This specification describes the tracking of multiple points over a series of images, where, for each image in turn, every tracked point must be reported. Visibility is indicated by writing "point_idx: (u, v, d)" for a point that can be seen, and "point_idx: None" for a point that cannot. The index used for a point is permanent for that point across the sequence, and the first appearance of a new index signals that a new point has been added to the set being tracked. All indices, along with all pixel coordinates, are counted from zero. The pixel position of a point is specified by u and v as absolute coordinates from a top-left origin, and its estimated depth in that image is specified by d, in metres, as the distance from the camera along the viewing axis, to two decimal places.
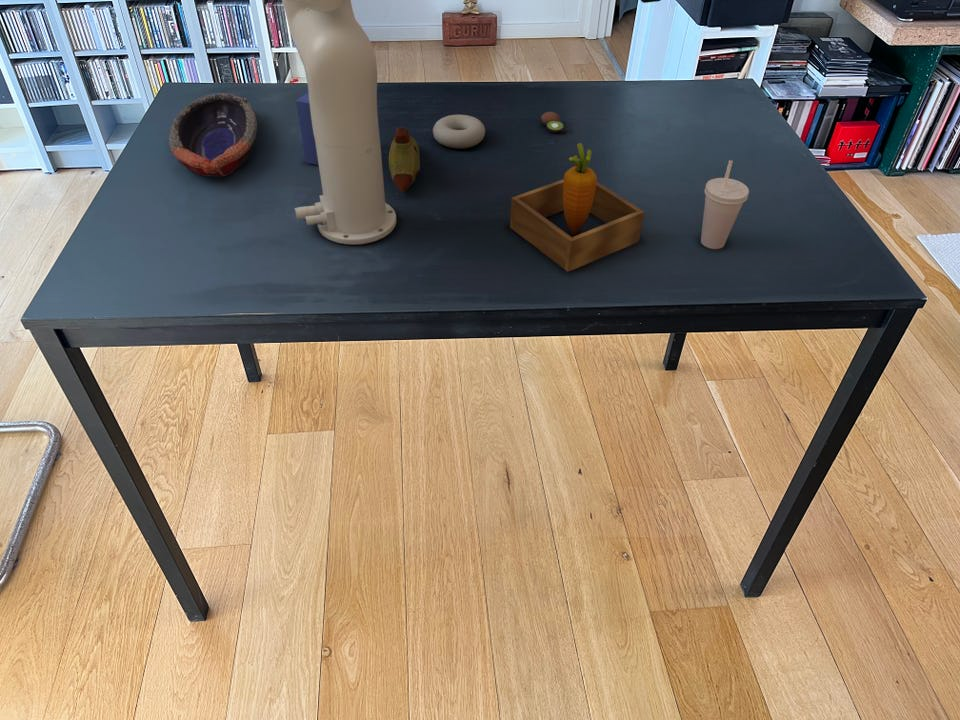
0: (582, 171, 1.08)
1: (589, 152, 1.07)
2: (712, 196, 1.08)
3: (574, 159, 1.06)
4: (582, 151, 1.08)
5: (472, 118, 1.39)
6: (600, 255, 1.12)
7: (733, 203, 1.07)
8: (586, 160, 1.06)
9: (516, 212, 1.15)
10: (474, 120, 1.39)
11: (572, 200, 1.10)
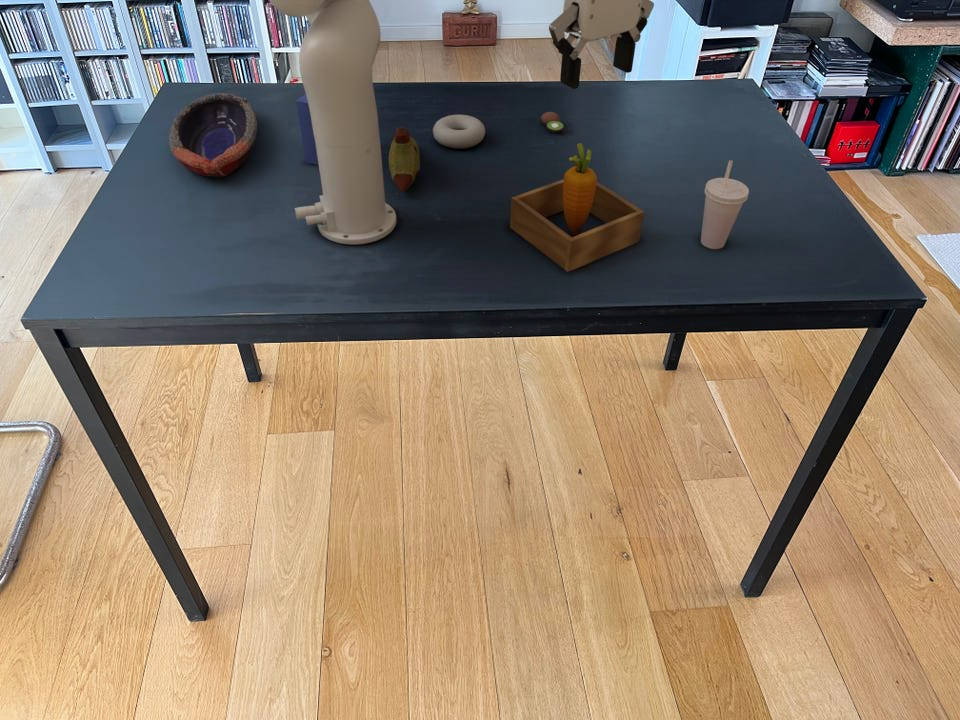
0: (582, 171, 1.08)
1: (589, 152, 1.07)
2: (712, 196, 1.08)
3: (574, 159, 1.06)
4: (582, 151, 1.08)
5: (472, 118, 1.39)
6: (600, 255, 1.12)
7: (733, 203, 1.07)
8: (586, 160, 1.06)
9: (516, 212, 1.15)
10: (474, 120, 1.39)
11: (572, 200, 1.10)
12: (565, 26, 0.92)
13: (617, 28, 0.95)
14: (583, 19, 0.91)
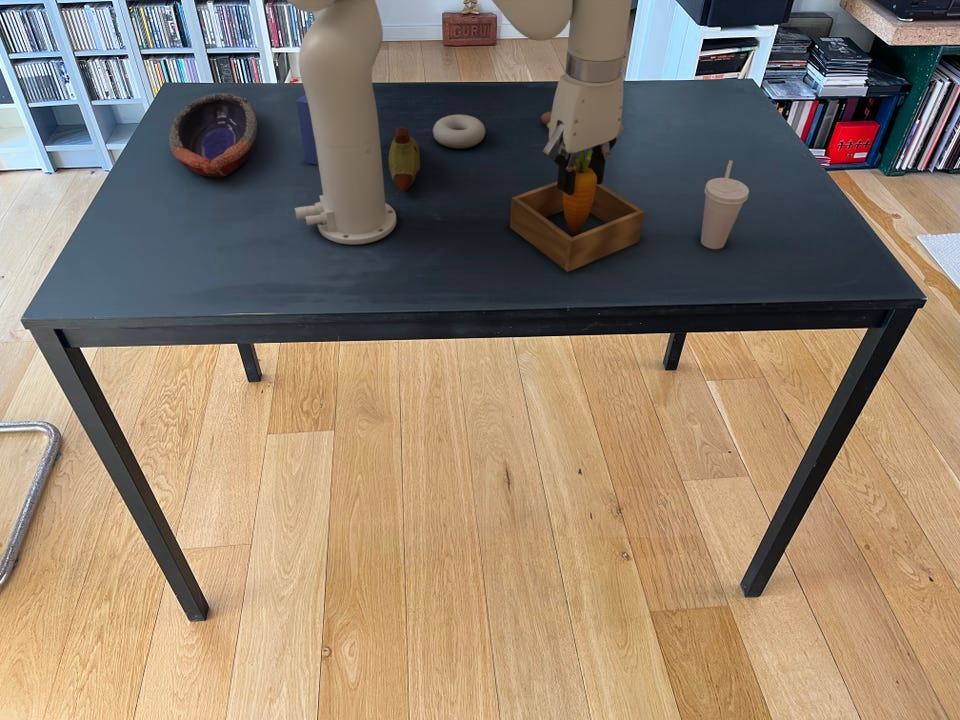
0: (582, 171, 1.08)
1: (589, 152, 1.07)
2: (712, 196, 1.08)
3: None
4: (582, 151, 1.08)
5: (472, 118, 1.39)
6: (600, 255, 1.12)
7: (733, 203, 1.07)
8: (586, 160, 1.06)
9: (516, 212, 1.15)
10: (474, 120, 1.39)
11: (573, 200, 1.10)
12: (556, 147, 1.02)
13: (599, 140, 1.04)
14: (567, 136, 1.01)
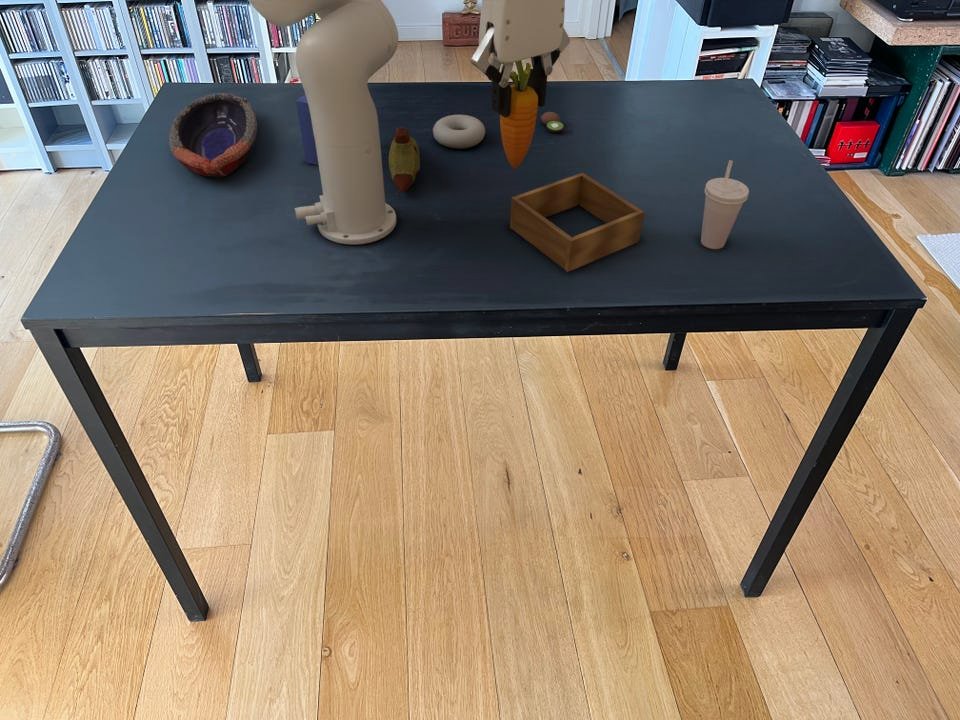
0: (520, 89, 0.93)
1: (528, 66, 0.92)
2: (712, 196, 1.08)
3: None
4: (520, 65, 0.92)
5: (472, 118, 1.39)
6: (600, 255, 1.12)
7: (733, 203, 1.07)
8: (524, 74, 0.90)
9: (516, 212, 1.15)
10: (474, 120, 1.39)
11: (510, 124, 0.95)
12: (487, 56, 0.87)
13: (537, 49, 0.89)
14: (499, 40, 0.86)
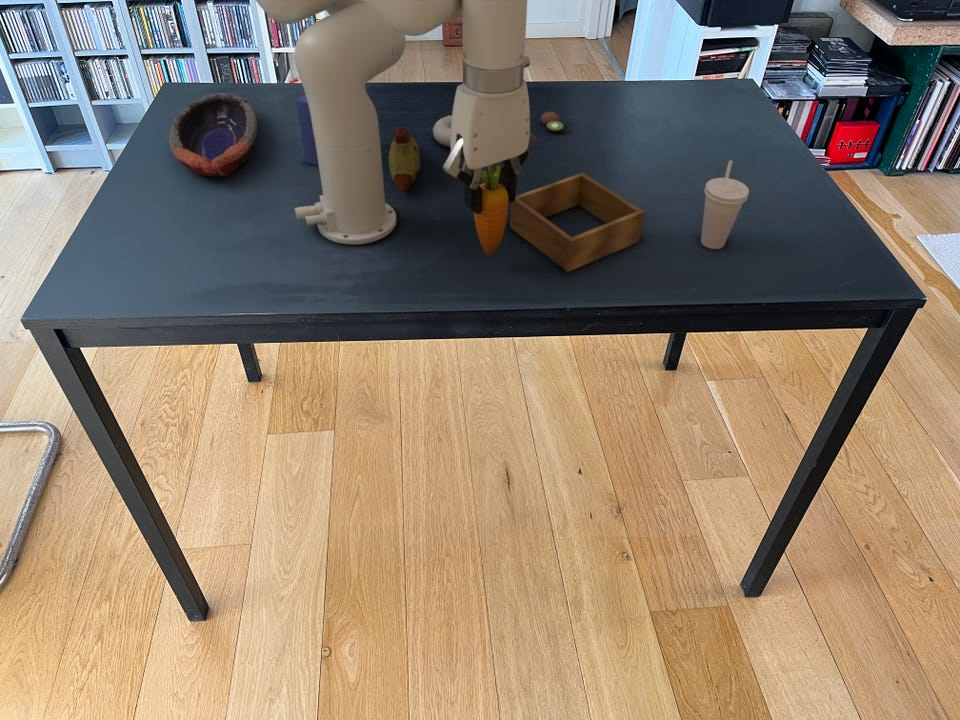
0: (491, 188, 1.00)
1: (498, 167, 0.99)
2: (712, 196, 1.08)
3: (481, 175, 0.98)
4: (491, 166, 0.99)
5: None
6: (600, 255, 1.12)
7: (733, 203, 1.07)
8: (493, 176, 0.97)
9: (516, 212, 1.15)
10: None
11: (483, 219, 1.02)
12: (457, 163, 0.94)
13: (505, 155, 0.96)
14: (467, 151, 0.92)
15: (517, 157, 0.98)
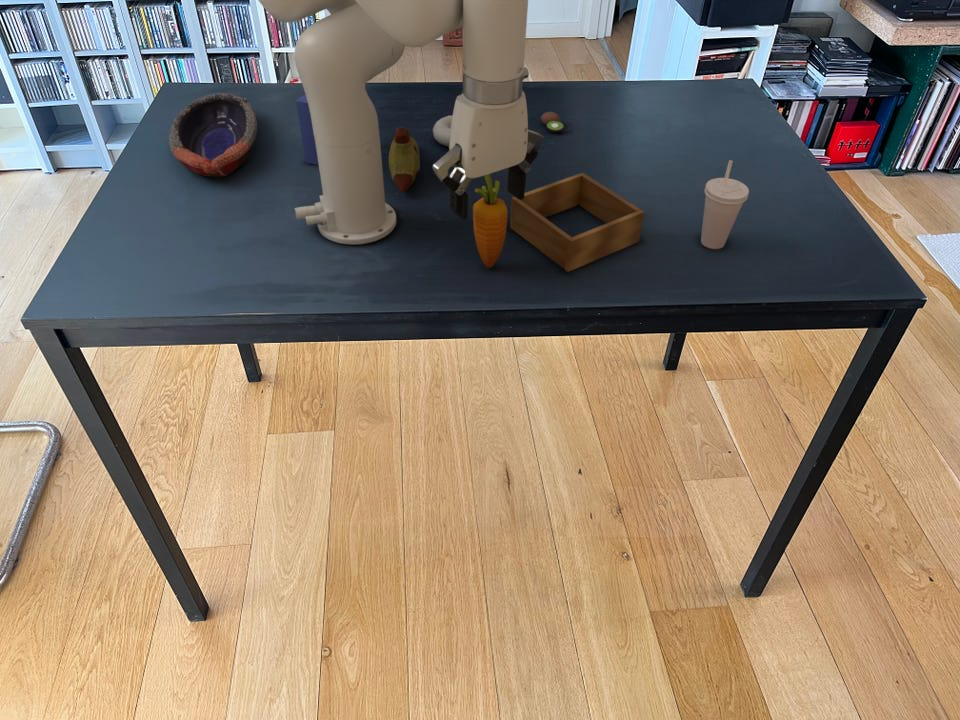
0: (490, 203, 1.01)
1: (497, 183, 1.00)
2: (712, 196, 1.08)
3: (480, 190, 1.00)
4: (490, 181, 1.01)
5: None
6: (600, 255, 1.12)
7: (733, 203, 1.07)
8: (492, 192, 0.99)
9: (516, 212, 1.15)
10: None
11: (482, 233, 1.03)
12: (448, 166, 0.94)
13: (503, 165, 0.97)
14: (466, 161, 0.93)
15: None
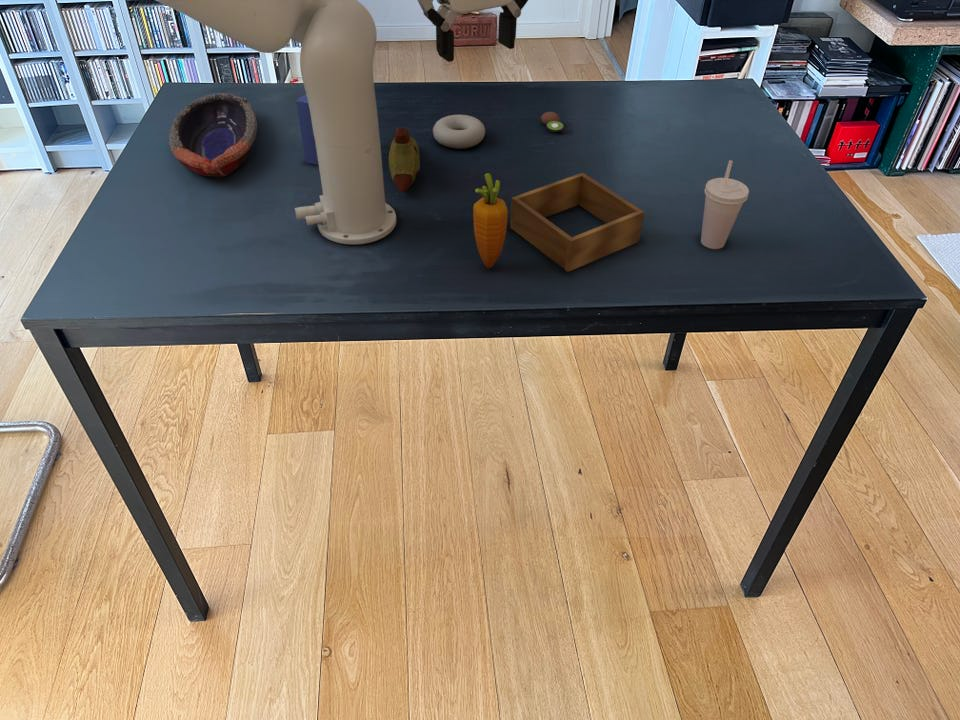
0: (491, 203, 1.01)
1: (497, 183, 1.00)
2: (712, 196, 1.08)
3: (480, 190, 1.00)
4: (490, 182, 1.01)
5: (472, 118, 1.39)
6: (600, 255, 1.12)
7: (733, 203, 1.07)
8: (492, 192, 0.99)
9: (516, 212, 1.15)
10: (474, 120, 1.39)
11: (482, 233, 1.03)
12: None
13: (491, 1, 0.94)
14: None
15: (512, 0, 0.97)
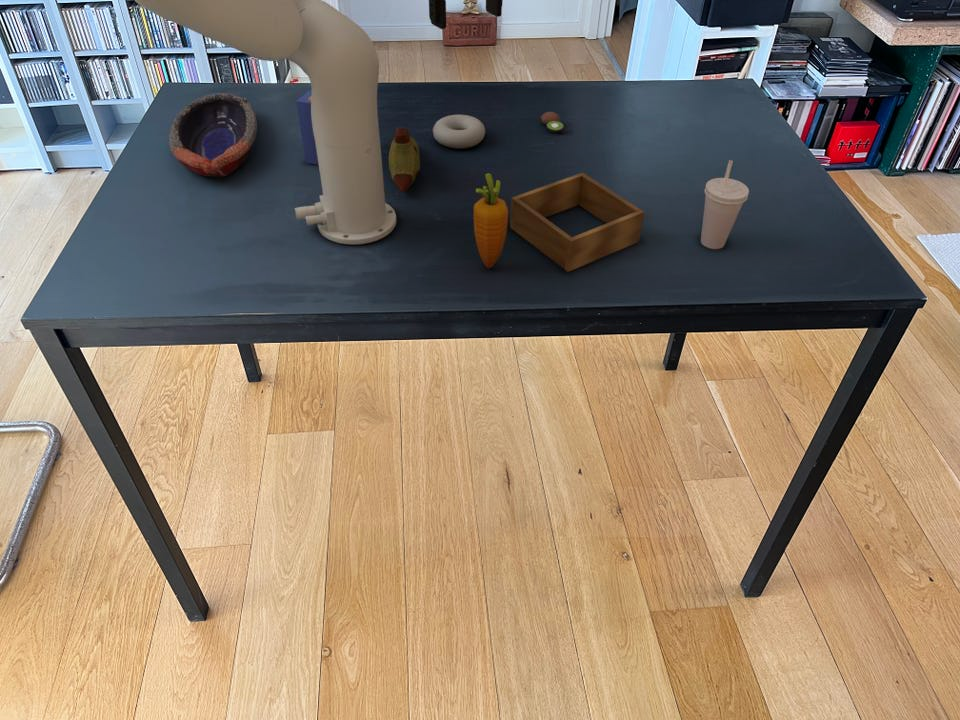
0: (491, 203, 1.01)
1: (498, 183, 1.00)
2: (712, 196, 1.08)
3: (481, 190, 1.00)
4: (491, 182, 1.01)
5: (472, 118, 1.39)
6: (600, 255, 1.12)
7: (733, 203, 1.07)
8: (493, 192, 0.99)
9: (516, 212, 1.15)
10: (474, 120, 1.39)
11: (483, 233, 1.03)
12: None
13: None
14: None
15: None
